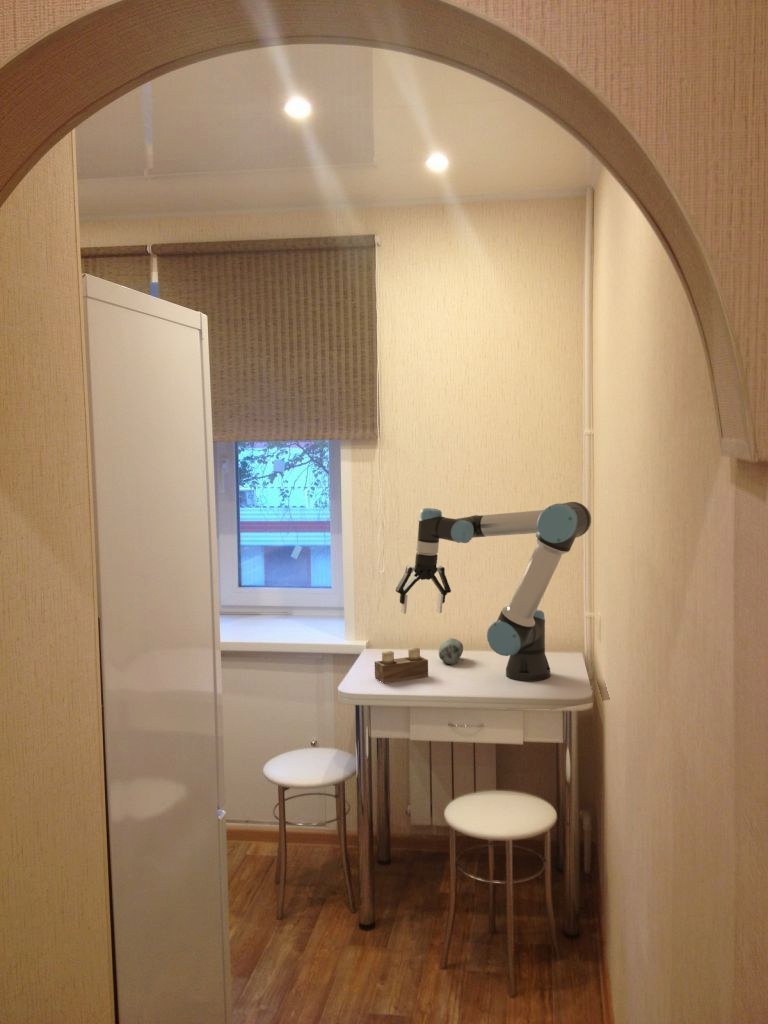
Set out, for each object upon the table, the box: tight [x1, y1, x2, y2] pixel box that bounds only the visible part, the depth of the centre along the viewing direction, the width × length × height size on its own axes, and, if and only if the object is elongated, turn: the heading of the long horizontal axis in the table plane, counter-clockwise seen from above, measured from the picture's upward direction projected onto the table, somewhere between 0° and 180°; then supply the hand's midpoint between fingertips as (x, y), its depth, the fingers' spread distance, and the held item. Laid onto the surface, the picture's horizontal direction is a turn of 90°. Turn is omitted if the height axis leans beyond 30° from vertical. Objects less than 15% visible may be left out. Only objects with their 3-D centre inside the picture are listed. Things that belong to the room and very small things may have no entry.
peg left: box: [381, 650, 395, 665], centre depth 306 cm, size 4×4×5 cm
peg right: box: [407, 647, 421, 661], centre depth 310 cm, size 4×4×5 cm
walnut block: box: [374, 655, 429, 684], centre depth 308 cm, size 7×17×6 cm, turn 115°
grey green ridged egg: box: [438, 637, 464, 665], centre depth 330 cm, size 14×10×10 cm
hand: (421, 612), depth 314 cm, fingers open, 13 cm apart
